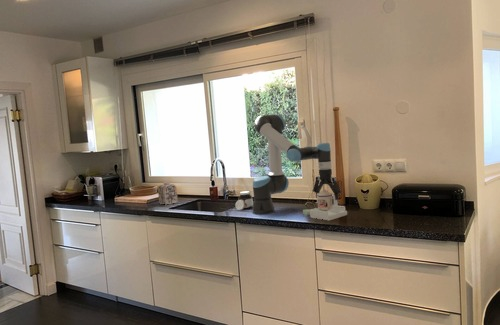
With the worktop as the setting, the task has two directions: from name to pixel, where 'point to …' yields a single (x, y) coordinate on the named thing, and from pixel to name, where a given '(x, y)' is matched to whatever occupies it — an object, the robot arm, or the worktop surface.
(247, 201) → the spread jar
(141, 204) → the worktop surface
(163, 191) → the decorative jar
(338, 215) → the end holder
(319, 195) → the teacup with lid
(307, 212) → the clip
